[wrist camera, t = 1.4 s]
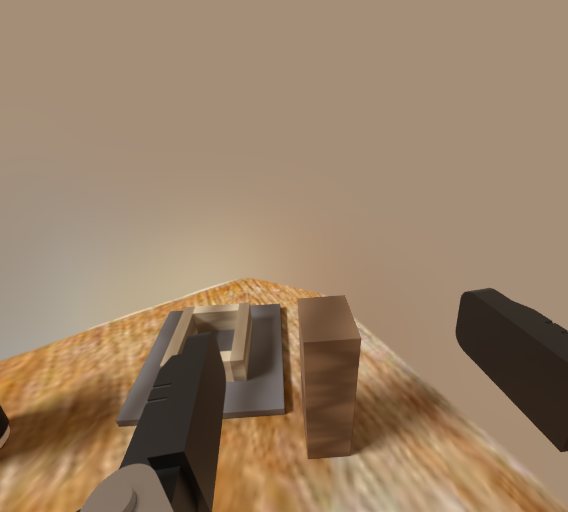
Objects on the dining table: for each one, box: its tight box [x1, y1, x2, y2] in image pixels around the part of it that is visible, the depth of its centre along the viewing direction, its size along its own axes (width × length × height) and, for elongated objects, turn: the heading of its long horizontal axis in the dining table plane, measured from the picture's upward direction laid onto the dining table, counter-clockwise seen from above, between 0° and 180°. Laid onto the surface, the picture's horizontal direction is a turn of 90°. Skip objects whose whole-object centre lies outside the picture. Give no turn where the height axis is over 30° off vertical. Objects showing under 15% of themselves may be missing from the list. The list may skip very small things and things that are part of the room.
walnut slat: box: [298, 295, 361, 459], centre depth 25 cm, size 4×5×15 cm
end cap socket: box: [116, 303, 285, 427], centre depth 37 cm, size 18×18×4 cm
